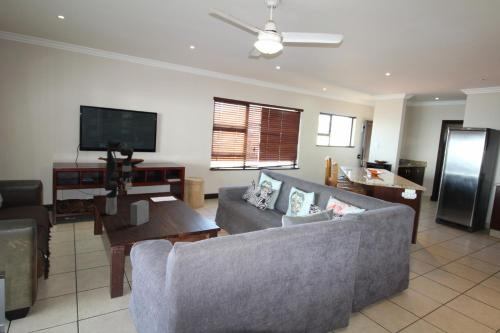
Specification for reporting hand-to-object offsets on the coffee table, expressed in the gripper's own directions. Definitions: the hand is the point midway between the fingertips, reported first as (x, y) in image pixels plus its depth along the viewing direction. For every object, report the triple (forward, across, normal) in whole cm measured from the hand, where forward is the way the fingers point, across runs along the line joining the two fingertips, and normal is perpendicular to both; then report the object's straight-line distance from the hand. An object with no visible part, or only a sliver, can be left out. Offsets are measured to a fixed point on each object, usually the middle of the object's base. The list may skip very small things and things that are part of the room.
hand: (126, 188), depth 257 cm
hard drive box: (+34, -10, +6) cm, 36 cm away
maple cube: (+1, 0, 0) cm, 1 cm away
